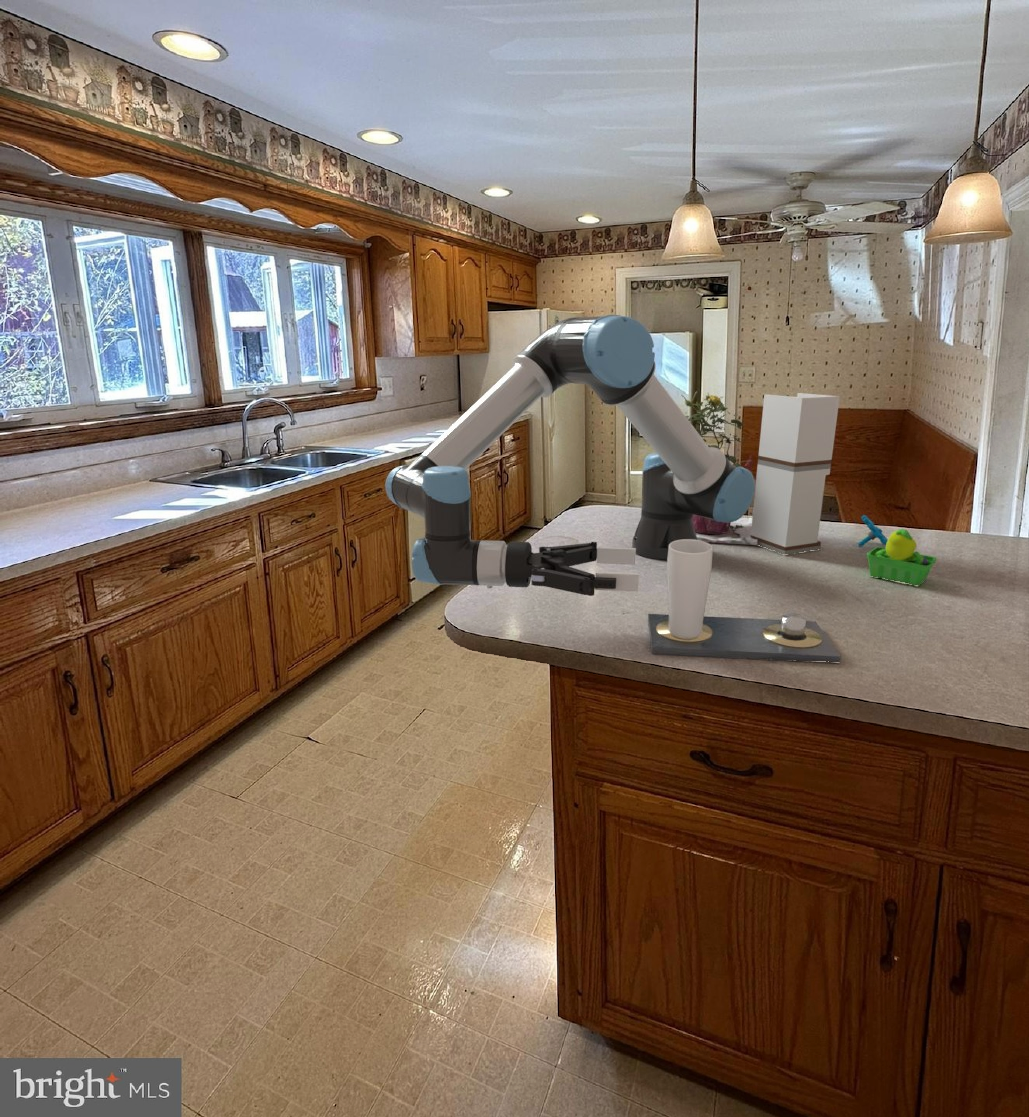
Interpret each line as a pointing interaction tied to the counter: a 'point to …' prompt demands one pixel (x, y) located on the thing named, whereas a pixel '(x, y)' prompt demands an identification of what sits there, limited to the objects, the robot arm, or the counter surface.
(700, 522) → the potted flower
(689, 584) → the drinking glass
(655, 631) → the bolt plate
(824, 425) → the white banded pillar
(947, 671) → the counter surface
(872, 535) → the blue plastic t-shaped piece
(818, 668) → the counter surface
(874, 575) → the fruit basket
